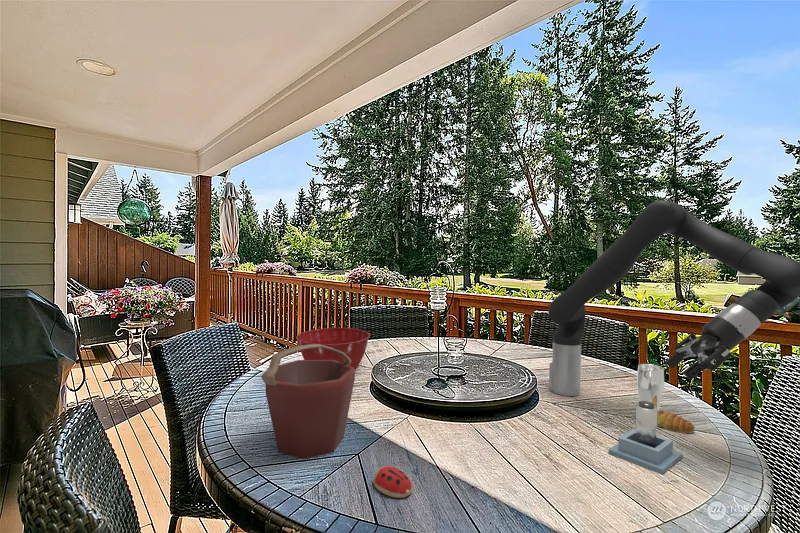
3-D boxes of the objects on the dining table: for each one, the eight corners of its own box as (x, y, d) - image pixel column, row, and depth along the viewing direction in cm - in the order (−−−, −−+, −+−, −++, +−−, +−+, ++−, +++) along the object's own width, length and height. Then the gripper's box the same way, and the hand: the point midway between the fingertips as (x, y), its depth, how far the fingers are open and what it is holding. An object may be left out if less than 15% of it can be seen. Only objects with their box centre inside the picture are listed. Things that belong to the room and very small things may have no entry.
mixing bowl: (366, 385, 153) (366, 343, 152) (287, 384, 154) (287, 342, 153) (372, 363, 181) (372, 327, 181) (306, 363, 182) (305, 327, 181)
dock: (608, 453, 104) (608, 437, 104) (630, 439, 111) (630, 424, 111) (662, 474, 94) (663, 456, 94) (682, 457, 102) (683, 441, 102)
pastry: (697, 430, 117) (698, 417, 117) (689, 437, 113) (689, 423, 113) (660, 419, 125) (660, 406, 124) (651, 425, 120) (651, 412, 120)
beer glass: (666, 422, 122) (668, 371, 121) (640, 420, 124) (642, 369, 123) (657, 413, 129) (659, 364, 128) (632, 411, 130) (633, 363, 130)
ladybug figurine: (388, 473, 95) (388, 458, 95) (421, 492, 88) (421, 475, 88) (365, 485, 90) (365, 469, 90) (398, 506, 83) (398, 488, 83)
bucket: (267, 473, 94) (265, 362, 93) (252, 434, 114) (250, 341, 112) (368, 449, 105) (368, 350, 104) (339, 417, 125) (338, 333, 124)
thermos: (629, 450, 103) (630, 402, 103) (638, 444, 107) (639, 397, 106) (653, 458, 99) (654, 409, 99) (661, 451, 103) (662, 403, 102)
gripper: (702, 310, 109) (652, 352, 111) (739, 321, 95) (681, 368, 97) (723, 331, 109) (672, 372, 111) (763, 345, 95) (704, 392, 97)
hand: (676, 370), depth 104 cm, fingers open, 8 cm apart
